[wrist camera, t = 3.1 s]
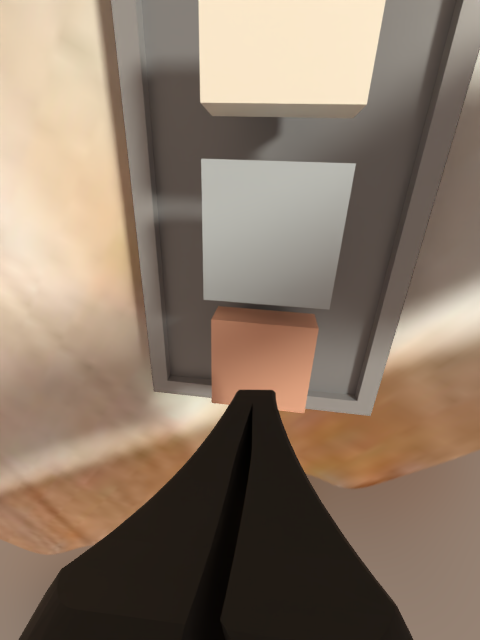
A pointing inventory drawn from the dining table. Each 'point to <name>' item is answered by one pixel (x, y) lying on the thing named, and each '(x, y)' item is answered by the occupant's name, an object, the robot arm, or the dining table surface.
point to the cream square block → (287, 56)
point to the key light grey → (273, 230)
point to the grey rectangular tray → (297, 146)
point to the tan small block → (262, 354)
